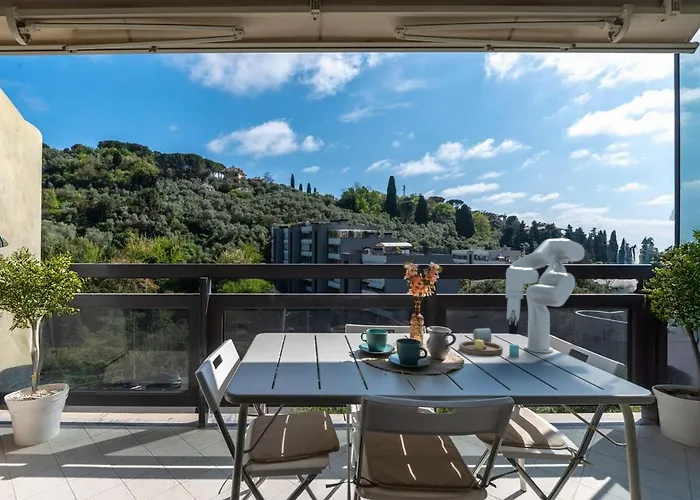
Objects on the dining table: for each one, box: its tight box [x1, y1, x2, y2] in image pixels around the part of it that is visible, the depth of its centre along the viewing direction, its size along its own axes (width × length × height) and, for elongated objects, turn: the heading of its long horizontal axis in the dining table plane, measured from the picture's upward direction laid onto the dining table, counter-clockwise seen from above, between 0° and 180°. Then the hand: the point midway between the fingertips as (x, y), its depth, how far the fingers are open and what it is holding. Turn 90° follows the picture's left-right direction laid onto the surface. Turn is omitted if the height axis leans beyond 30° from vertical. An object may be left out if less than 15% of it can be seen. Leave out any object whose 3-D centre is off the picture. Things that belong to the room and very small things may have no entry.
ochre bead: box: [475, 340, 484, 350], centre depth 192 cm, size 4×4×5 cm
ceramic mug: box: [472, 327, 492, 343], centre depth 213 cm, size 11×8×8 cm
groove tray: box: [458, 340, 504, 357], centre depth 197 cm, size 19×19×2 cm
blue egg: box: [508, 343, 520, 358], centre depth 188 cm, size 4×4×5 cm
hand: (513, 332), depth 188 cm, fingers open, 9 cm apart
